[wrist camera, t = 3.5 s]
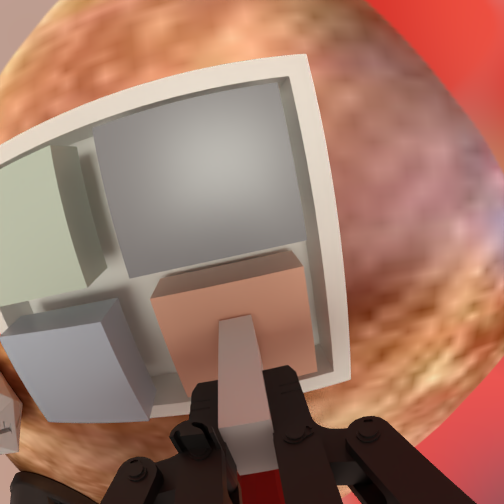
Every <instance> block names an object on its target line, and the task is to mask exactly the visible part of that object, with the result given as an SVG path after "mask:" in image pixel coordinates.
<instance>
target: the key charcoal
mask: <svg viewBox="0 0 504 504" xmlns="http://www.w3.org/2000/svg"><path fill="white" fill-rule="evenodd" d="M92 131H93V137H94V142H95V148H96V153H97V158H98V163H99V167H100V172H101V177H102V181H103V185H104V190H105V194H106V198H107V202H108V206H109V210H110V214H111V218H112V221H113V225H114V229H115V232H116V236H117V239H118V243H119V246H120V250H121V253H122V256H123V260H124V263H125V266H126V269H127V272H128V275H129V279H130V278H135V277H139V276H144V275H149V274H153V273H158V272H163V271H167V270H172V269H176V268H181V267H186V266H190V265H195V264H199V263H204V262H209V261H213V260H218V259H223V258H227V257H232V256H236V255H241V254H246V253H250V252H255V251H259V250H264V249H269V248H273V247H278V246H283V245H287V244H292V243H296V242H301V241H306V240H307V235H306V229H305V222H304V216H303V210H302V204H301V199H300V193H299V187H298V181H297V176H296V171H295V165H294V160H293V155H292V149H291V144H290V139H289V134H288V129H287V125H286V120H285V115H284V110H283V106H282V101H281V96H280V92H279V87H278V83H277V82H276V83H269V84H262V85H255V86H249V87H243V88H237V89H232V90H227V91H222V92H217V93H212V94H207V95H203V96H198V97H194V98H189V99H185V100H181V101H177V102H173V103H170V104H166V105H162V106H158V107H155V108H151V109H148V110H145V111H141V112H138V113H135V114H131V115H128V116H125V117H122V118H119V119H116V120H113V121H110V122H107V123H104V124H102V125H99V126H96V127H93V128H92Z"/></svg>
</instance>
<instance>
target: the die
mask: <svg viewBox="0 0 504 504" xmlns="http://www.w3.org/2000/svg"><path fill="white" fill-rule="evenodd" d="M22 405H23V404H22V402H21V401H20V399H19V398H18V397H17V395H16V394H15V392H14V391H13V390H12V388H11V387H10V385H9V384H8V382H7V381H6V379H5V378H4V376H3V375H2V373H1V372H0V455H1V454H9V453H15V452H19V438H20V425H21V414H22Z"/></svg>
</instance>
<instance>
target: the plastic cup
mask: <svg viewBox="0 0 504 504" xmlns="http://www.w3.org/2000/svg"><path fill="white" fill-rule="evenodd" d="M237 479H238V482H239V484H240V487H241V492H242V503H243V504H285V500H284V495H283V490H282V485H281V479H280V474H279V469H275V470H270V471H264V472H259V473H252V474H246V475H239V473H237Z"/></svg>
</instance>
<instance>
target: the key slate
mask: <svg viewBox="0 0 504 504" xmlns="http://www.w3.org/2000/svg"><path fill="white" fill-rule="evenodd" d="M0 341H1V343H2V345H3V347H4V349H5V351H6V353H7V355H8V357H9V359H10V361H11V363H12V365H13V366H14V368H15V370H16V372H17V373H18V375H19V377H20V379H21V380H22V382H23V384H24V385H25V387H26V389H27V390H28V392H29V393H30V395H31V397H32V398H33V400H34V401H35V403H36V404H37V406H38V407H39V409H40V410H41V412H42V413H43V415H44V416H45V418H46V419H47V421H48V422H61V423H120V422H140V421H149V420H150V415H151V411H152V407H153V403H154V399H155V394H156V388H155V385H154V383H153V381H152V379H151V377H150V375H149V373H148V370H147V368H146V366H145V364H144V361H143V359H142V357H141V355H140V352H139V350H138V348H137V345H136V343H135V340H134V338H133V336H132V333H131V331H130V328H129V326H128V323H127V321H126V318H125V315H124V313H123V310H122V307H121V305H120V302H119V299H118V298H113V299H108V300H103V301H98V302H93V303H88V304H82V305H77V306H72V307H67V308H62V309H56V310H51V311H46V312H40V313H35V314H29V315H24V316H20V317H19V318H18V319H17V320H16V321H15V322H14V323H13V324H12V325H11V326H10V327H9V328H7V329H6V330H5V331H4V332H3V333H2V334H1V335H0Z"/></svg>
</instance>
